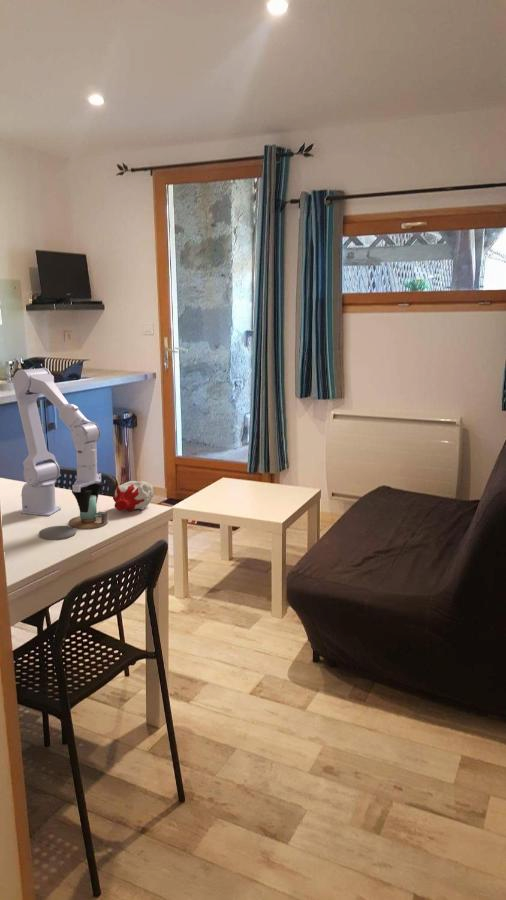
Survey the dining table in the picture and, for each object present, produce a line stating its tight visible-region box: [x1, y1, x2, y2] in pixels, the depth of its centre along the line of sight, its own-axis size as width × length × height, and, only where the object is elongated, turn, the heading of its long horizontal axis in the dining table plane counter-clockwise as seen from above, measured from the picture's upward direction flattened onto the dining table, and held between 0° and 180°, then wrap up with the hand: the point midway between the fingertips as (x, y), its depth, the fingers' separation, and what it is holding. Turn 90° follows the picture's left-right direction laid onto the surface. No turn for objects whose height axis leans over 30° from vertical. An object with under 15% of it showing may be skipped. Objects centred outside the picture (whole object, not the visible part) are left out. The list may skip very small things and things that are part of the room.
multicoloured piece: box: [112, 480, 155, 512], centre depth 205 cm, size 9×11×15 cm
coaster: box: [38, 525, 77, 541], centre depth 184 cm, size 10×10×1 cm
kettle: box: [79, 495, 101, 519], centre depth 192 cm, size 6×5×6 cm
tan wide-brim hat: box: [68, 511, 109, 530], centre depth 193 cm, size 11×11×4 cm
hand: (88, 509), depth 192 cm, fingers closed on kettle, 5 cm apart
